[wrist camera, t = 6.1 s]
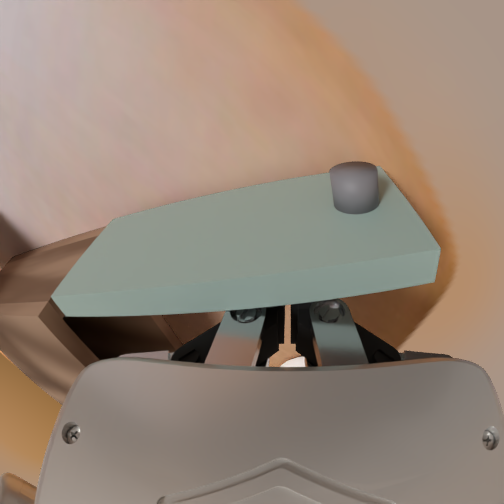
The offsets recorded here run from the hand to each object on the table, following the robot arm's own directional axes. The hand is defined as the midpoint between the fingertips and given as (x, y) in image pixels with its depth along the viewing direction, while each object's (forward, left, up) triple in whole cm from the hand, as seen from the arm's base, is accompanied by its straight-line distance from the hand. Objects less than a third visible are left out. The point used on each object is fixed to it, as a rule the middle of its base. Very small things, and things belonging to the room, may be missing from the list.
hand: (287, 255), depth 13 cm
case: (-7, +17, -2) cm, 19 cm away
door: (+3, +2, -2) cm, 4 cm away
